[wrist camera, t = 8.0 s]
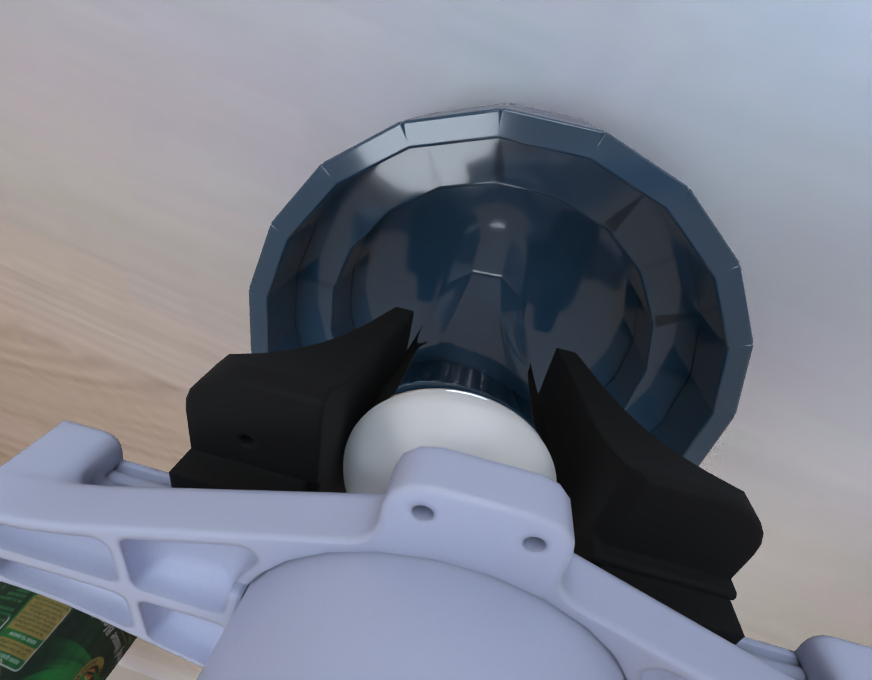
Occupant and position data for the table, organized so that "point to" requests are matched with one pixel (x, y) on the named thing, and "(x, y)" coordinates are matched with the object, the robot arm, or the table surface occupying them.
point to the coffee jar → (54, 639)
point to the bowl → (521, 257)
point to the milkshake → (456, 391)
